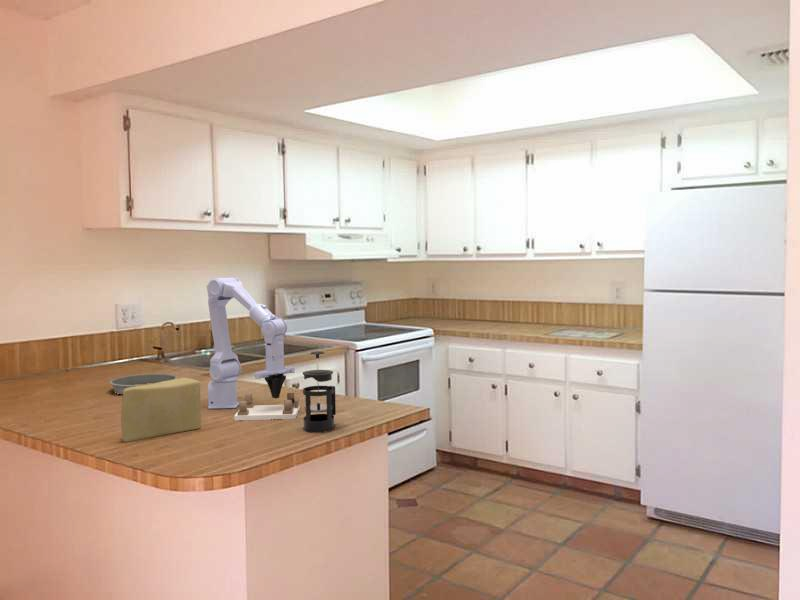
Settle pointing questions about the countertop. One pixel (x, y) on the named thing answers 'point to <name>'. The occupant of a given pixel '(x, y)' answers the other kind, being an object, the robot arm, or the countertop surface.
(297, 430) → the countertop surface
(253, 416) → the white board with posts
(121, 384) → the cake pan
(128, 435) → the cheese
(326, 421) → the french press
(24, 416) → the countertop surface
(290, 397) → the hinged leg
